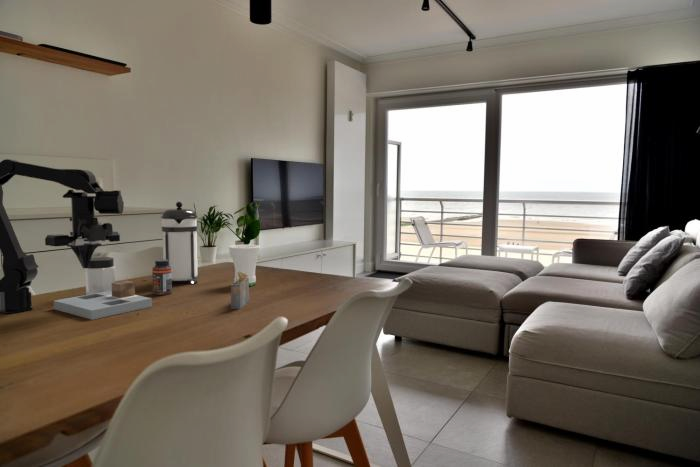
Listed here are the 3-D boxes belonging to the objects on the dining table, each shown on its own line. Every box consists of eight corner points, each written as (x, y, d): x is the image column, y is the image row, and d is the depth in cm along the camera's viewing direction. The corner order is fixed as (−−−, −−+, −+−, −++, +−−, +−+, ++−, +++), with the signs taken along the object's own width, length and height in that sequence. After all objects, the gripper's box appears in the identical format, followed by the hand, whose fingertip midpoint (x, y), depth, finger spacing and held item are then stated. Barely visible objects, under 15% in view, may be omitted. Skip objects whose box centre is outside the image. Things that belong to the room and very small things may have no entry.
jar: (81, 298, 156) (79, 260, 155) (91, 292, 164) (89, 257, 163) (111, 297, 157) (109, 260, 156) (119, 292, 165) (118, 256, 164)
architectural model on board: (239, 301, 156) (238, 271, 155) (248, 301, 156) (248, 271, 155) (229, 310, 144) (229, 277, 143) (239, 310, 144) (239, 277, 143)
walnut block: (120, 298, 146) (120, 284, 145) (111, 296, 148) (111, 282, 148) (135, 295, 150) (134, 282, 149) (126, 293, 152) (125, 280, 152)
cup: (226, 283, 183) (226, 245, 182) (256, 281, 188) (256, 244, 186) (233, 288, 173) (232, 248, 172) (264, 286, 178) (263, 247, 176)
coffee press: (212, 280, 187) (211, 201, 185) (177, 287, 174) (175, 202, 171) (181, 276, 196) (180, 200, 194) (146, 282, 183) (144, 201, 180)
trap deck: (92, 319, 131) (91, 310, 131) (53, 309, 142) (53, 300, 142) (152, 306, 146) (151, 298, 146) (113, 297, 157) (113, 290, 157)
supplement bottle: (148, 294, 163) (147, 260, 162) (163, 291, 168) (162, 258, 167) (161, 296, 160) (160, 261, 159) (175, 293, 165) (175, 259, 164)
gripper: (64, 216, 128) (66, 275, 130) (130, 213, 144) (131, 266, 145) (42, 214, 134) (45, 271, 136) (108, 212, 150) (110, 263, 151)
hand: (85, 268), depth 142 cm, fingers closed
